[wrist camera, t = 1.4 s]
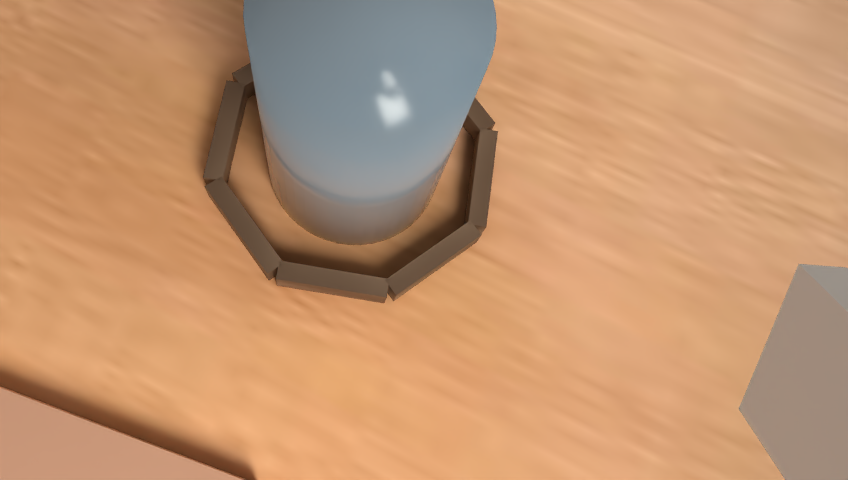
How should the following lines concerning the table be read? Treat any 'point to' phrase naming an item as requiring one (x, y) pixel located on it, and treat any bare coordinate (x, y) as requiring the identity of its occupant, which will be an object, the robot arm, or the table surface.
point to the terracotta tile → (82, 448)
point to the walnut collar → (332, 279)
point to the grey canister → (363, 104)
